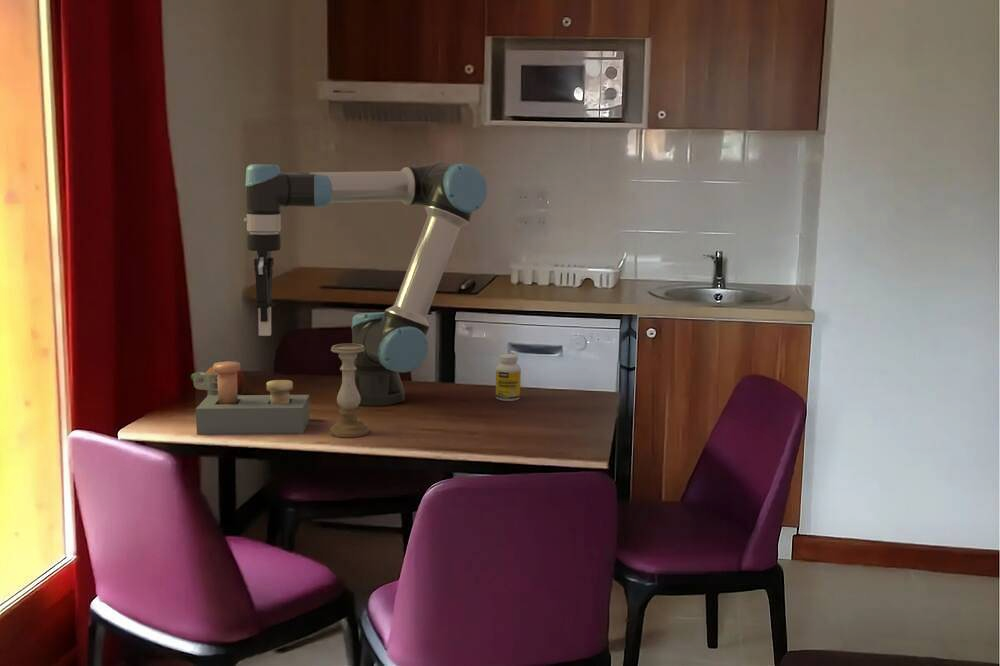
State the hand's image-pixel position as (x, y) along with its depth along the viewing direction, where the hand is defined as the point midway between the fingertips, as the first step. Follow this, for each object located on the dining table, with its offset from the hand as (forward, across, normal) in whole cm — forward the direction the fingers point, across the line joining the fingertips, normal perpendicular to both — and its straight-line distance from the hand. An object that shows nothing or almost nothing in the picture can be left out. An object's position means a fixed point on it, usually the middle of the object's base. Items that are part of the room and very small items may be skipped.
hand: (265, 335), depth 236 cm
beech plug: (+21, 0, +3) cm, 21 cm away
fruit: (+22, -30, -15) cm, 40 cm away
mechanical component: (+22, -13, -15) cm, 30 cm away
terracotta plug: (+17, -1, -9) cm, 19 cm away
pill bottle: (+21, -25, +60) cm, 68 cm away
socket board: (+22, 0, -3) cm, 22 cm away
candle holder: (+22, +6, +20) cm, 30 cm away
